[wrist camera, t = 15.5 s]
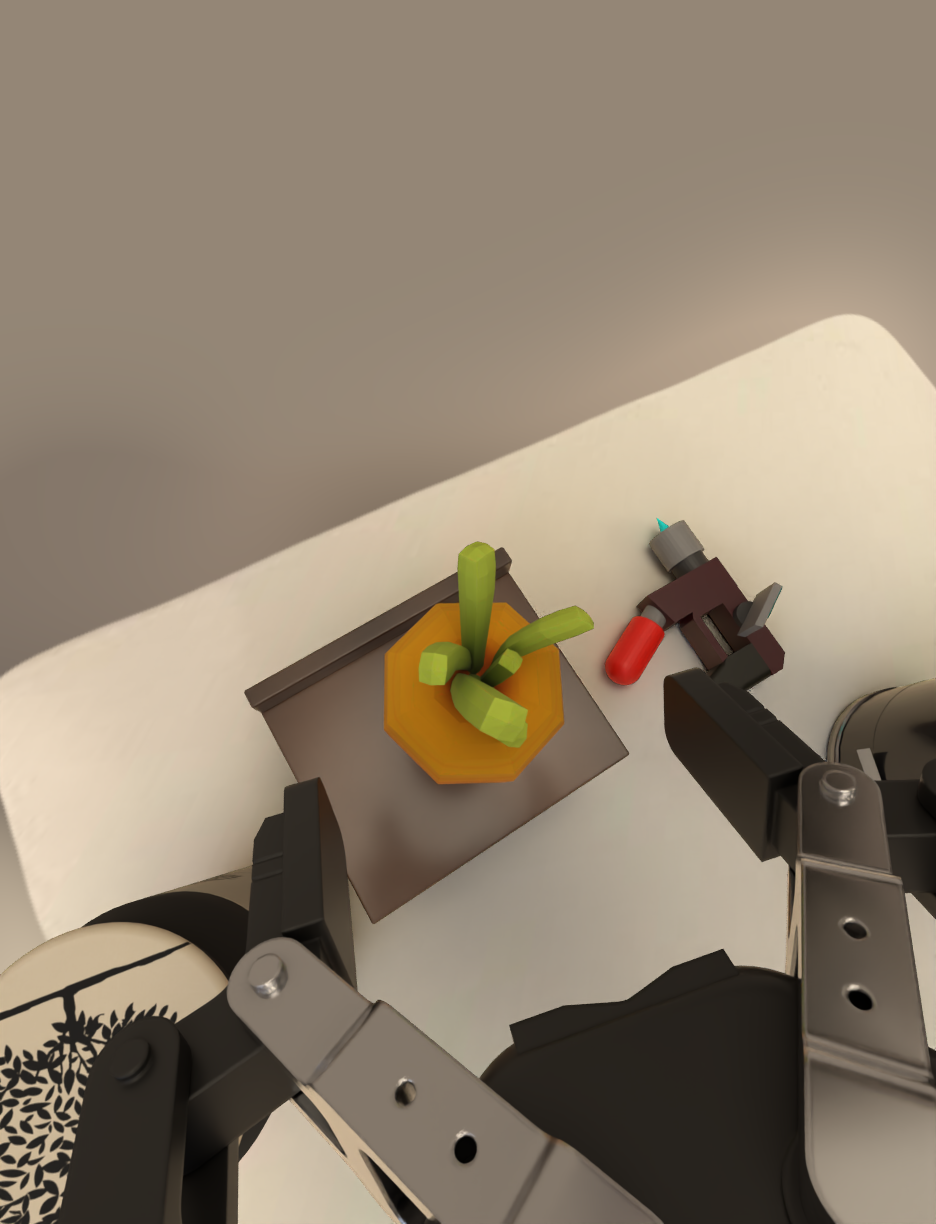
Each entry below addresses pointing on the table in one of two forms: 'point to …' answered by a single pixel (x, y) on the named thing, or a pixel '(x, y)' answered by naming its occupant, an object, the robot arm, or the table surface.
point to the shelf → (391, 780)
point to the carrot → (477, 681)
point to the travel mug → (101, 1019)
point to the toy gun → (700, 617)
